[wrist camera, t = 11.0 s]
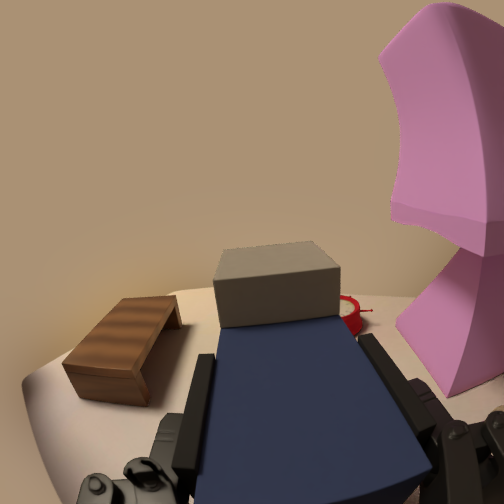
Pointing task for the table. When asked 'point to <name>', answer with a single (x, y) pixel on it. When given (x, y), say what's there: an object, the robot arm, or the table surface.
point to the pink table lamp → (453, 185)
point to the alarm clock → (351, 313)
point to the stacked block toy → (297, 392)
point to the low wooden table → (121, 350)
